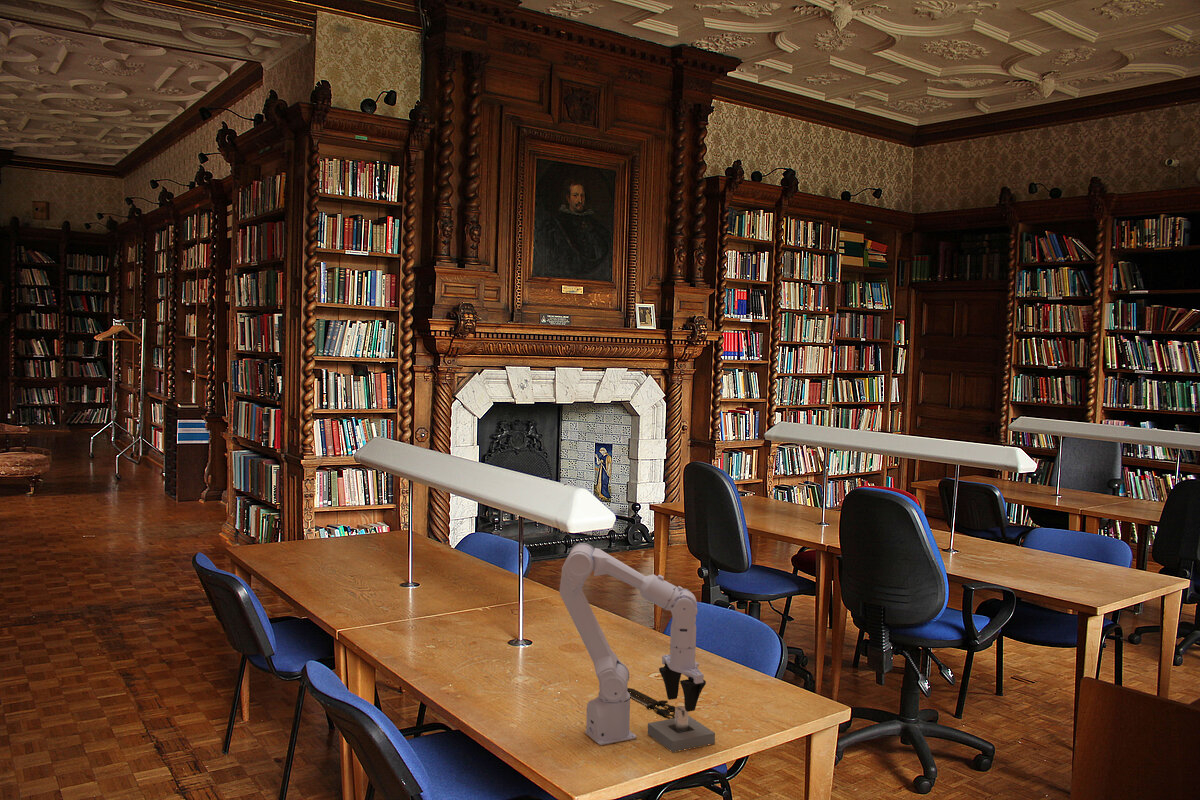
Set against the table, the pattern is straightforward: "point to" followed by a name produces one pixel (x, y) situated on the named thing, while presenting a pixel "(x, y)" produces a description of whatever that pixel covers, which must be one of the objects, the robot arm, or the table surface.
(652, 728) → the socket block
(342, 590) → the table surface
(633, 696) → the knife
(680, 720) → the steel pin
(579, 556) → the robot arm
